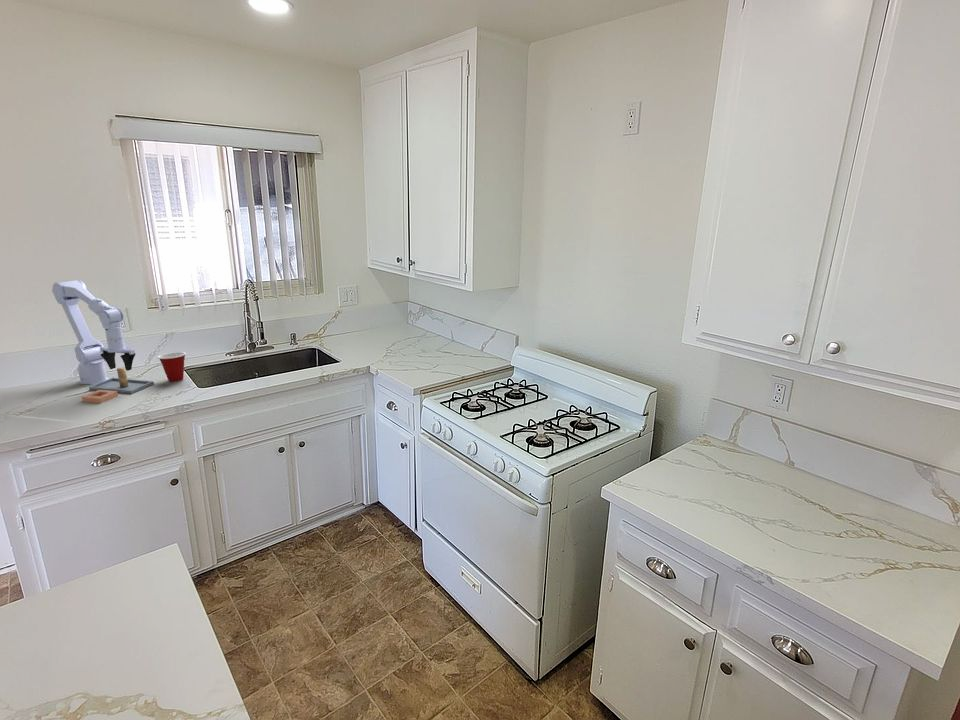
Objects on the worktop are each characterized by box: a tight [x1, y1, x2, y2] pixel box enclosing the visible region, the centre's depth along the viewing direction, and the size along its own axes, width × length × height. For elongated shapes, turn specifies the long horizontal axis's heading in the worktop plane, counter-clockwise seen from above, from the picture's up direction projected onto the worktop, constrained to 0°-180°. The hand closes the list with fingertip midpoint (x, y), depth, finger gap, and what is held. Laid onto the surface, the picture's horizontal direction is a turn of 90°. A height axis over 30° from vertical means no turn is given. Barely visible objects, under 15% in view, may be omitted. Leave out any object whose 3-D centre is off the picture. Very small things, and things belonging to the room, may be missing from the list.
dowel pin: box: [116, 366, 128, 388], centre depth 220 cm, size 3×3×8 cm
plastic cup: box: [157, 351, 186, 383], centre depth 231 cm, size 11×11×12 cm
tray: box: [88, 377, 155, 395], centre depth 222 cm, size 20×12×2 cm, turn 81°
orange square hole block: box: [81, 390, 119, 404], centre depth 209 cm, size 8×8×2 cm
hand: (120, 369), depth 219 cm, fingers open, 7 cm apart
